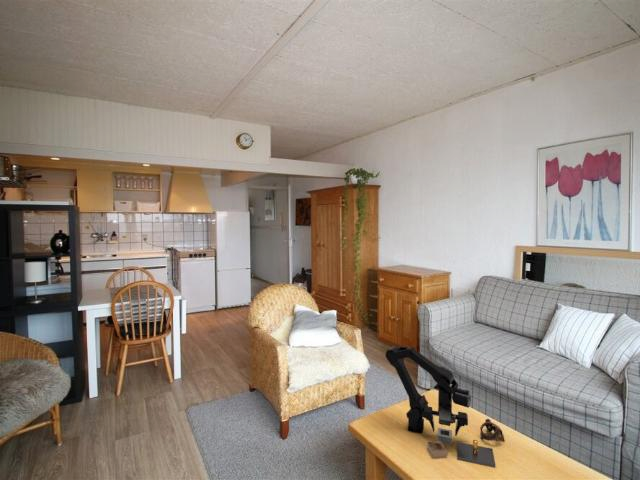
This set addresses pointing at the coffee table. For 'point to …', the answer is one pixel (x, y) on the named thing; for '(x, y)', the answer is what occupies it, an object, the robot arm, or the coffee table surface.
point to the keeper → (475, 454)
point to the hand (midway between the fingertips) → (444, 433)
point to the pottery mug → (490, 428)
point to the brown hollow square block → (437, 449)
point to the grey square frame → (445, 436)
